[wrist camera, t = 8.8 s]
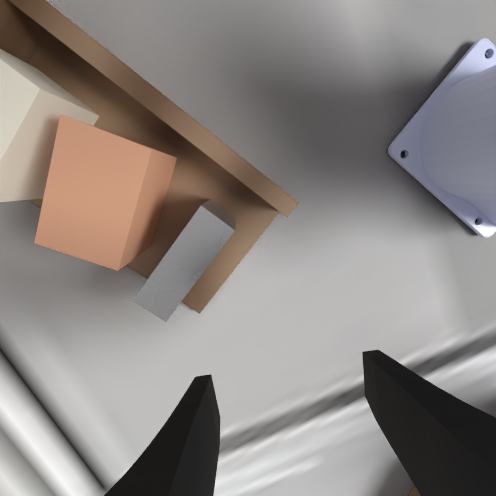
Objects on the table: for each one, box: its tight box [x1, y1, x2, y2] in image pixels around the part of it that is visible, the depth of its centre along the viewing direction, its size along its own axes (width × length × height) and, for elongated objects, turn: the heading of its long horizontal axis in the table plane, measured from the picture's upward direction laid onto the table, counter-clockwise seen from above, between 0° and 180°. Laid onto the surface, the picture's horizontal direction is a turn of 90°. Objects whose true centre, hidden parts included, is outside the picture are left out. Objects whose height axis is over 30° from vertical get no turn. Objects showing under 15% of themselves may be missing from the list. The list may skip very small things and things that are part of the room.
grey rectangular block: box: [133, 199, 236, 321], centre depth 16 cm, size 2×6×4 cm, turn 143°
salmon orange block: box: [34, 114, 177, 271], centre depth 15 cm, size 4×6×5 cm, turn 159°
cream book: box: [0, 49, 99, 202], centre depth 14 cm, size 4×6×5 cm, turn 143°
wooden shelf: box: [0, 0, 299, 314], centre depth 15 cm, size 18×10×7 cm, turn 53°
